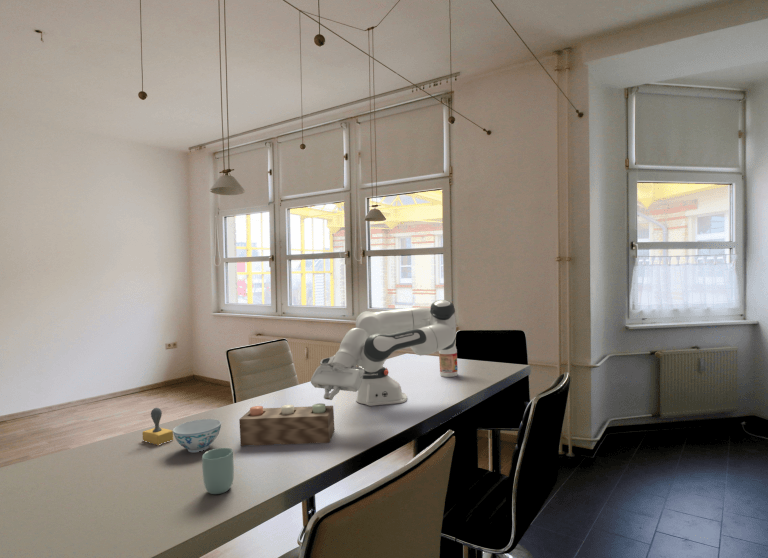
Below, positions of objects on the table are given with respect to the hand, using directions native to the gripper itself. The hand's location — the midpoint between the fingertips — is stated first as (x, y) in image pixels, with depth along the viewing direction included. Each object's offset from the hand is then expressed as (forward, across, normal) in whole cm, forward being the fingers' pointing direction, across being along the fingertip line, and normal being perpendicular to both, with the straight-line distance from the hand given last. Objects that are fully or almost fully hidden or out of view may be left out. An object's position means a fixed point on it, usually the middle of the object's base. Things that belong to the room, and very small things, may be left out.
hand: (327, 398), depth 158 cm
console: (+14, +12, -4) cm, 19 cm away
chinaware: (+29, +34, +10) cm, 46 cm away
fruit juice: (-62, -3, -78) cm, 99 cm away
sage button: (+5, +2, -2) cm, 6 cm away
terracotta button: (+13, +21, +5) cm, 25 cm away
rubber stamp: (+30, +55, +11) cm, 63 cm away
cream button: (+9, +12, +2) cm, 15 cm away
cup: (+42, +1, +22) cm, 47 cm away
